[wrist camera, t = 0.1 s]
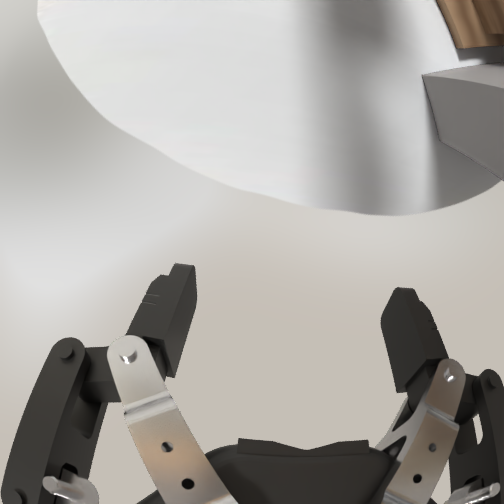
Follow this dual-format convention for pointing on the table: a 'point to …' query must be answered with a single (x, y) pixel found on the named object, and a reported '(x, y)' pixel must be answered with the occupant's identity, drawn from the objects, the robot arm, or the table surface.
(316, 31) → the table surface
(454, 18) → the post
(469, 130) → the tray stand
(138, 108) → the table surface
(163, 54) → the table surface
